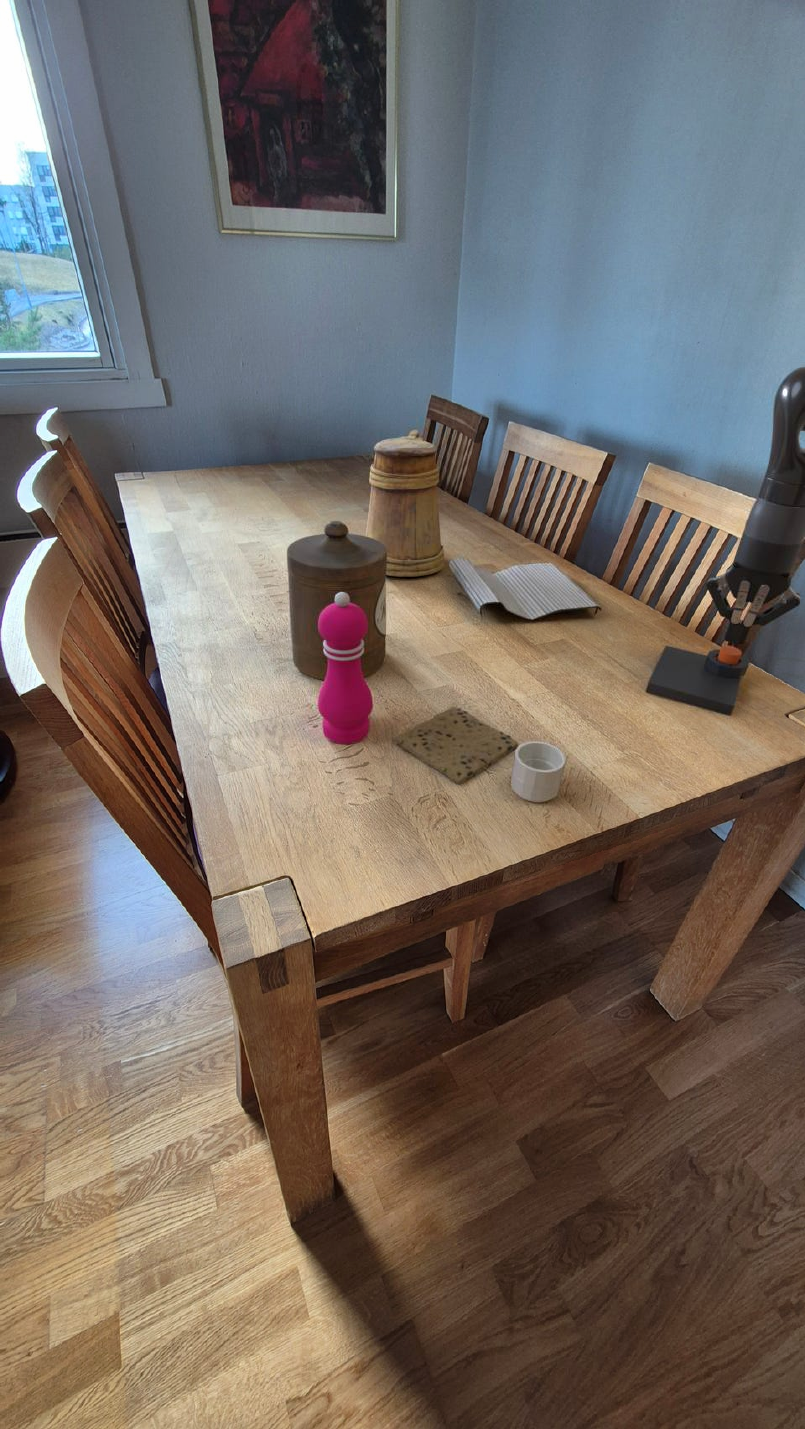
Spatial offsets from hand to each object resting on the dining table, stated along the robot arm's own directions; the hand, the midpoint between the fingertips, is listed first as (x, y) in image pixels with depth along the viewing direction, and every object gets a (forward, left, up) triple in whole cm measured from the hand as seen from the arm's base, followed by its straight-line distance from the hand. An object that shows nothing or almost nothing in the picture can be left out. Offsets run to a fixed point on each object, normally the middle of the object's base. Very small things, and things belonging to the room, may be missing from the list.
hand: (733, 644), depth 96 cm
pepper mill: (+42, +43, -6) cm, 61 cm away
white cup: (+16, +41, -6) cm, 45 cm away
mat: (+38, -12, -6) cm, 41 cm away
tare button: (0, 0, -3) cm, 3 cm away
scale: (+3, +4, -6) cm, 8 cm away
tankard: (+67, -17, -6) cm, 70 cm away
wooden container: (+54, +27, -6) cm, 61 cm away
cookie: (+28, +38, -6) cm, 48 cm away
